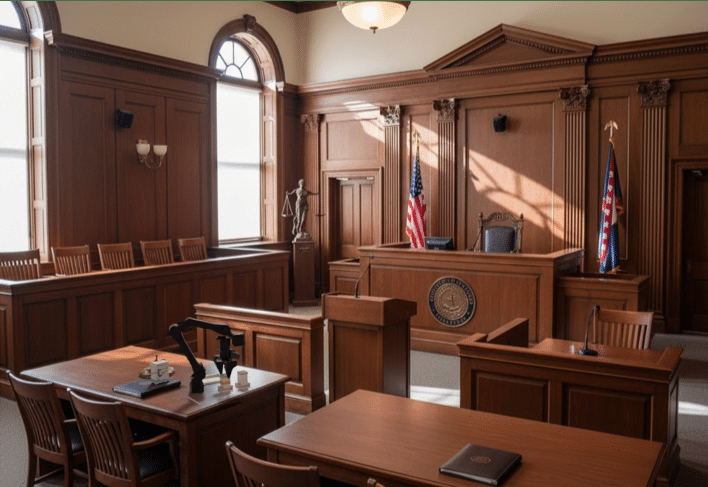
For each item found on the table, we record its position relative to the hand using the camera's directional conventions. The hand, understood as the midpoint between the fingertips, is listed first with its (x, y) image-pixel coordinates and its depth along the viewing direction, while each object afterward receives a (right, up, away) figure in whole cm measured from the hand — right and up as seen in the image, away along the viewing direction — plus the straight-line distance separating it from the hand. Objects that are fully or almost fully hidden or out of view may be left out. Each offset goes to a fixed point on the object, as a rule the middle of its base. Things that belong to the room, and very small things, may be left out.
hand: (224, 376), depth 349 cm
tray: (-11, -7, +19) cm, 23 cm away
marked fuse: (0, -7, 0) cm, 7 cm away
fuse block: (+4, -8, +3) cm, 9 cm away
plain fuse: (+8, -6, +6) cm, 12 cm away
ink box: (-39, -7, +18) cm, 44 cm away
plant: (-47, -6, +38) cm, 61 cm away
